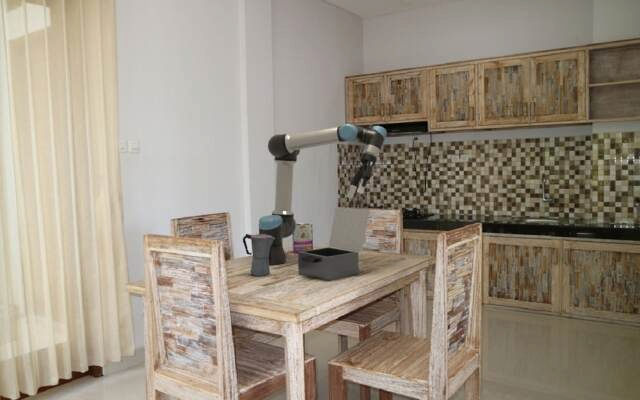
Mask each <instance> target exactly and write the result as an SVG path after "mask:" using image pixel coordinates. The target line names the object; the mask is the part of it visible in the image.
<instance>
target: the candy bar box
mask: <svg viewBox="0 0 640 400" xmlns="http://www.w3.org/2000/svg"><path fill="white" fill-rule="evenodd" d="M291 236H292V239H291V240H292V252H293V253H294V254H298V252H301V251H307V250H314V239H313V237H314V236H313V223H312V222H299V223H298V222H296V229H295V231H294V233H293V234H292V235H291Z"/></svg>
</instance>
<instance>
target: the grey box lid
mask: <svg viewBox="0 0 640 400" xmlns="http://www.w3.org/2000/svg"><path fill="white" fill-rule="evenodd" d="M369 213H370V209H367V208H366V209H365V208H355V207H353V208H352V207H340V206H339V207H337V206H336V207H335V210H334V215H333V222H332V227H331V233H330V238H329V243H328V247H330V248H336V249H342V250H348V251H354V252H358V253H362V252H363V247H364V242H365V237H366V229H367V224H368V220H369Z"/></svg>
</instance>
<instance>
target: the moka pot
mask: <svg viewBox="0 0 640 400" xmlns="http://www.w3.org/2000/svg"><path fill="white" fill-rule="evenodd" d="M262 233H263V231H262V230H260V234H259V233H258V234H249V233H246V234H245V235H244V236H243V238H242V242H243V246H244V249H245V253H246V255H249V256H252V262H251V267H250V275H252V276H255V277H266V276H269V275H270V274H271V271H270V265H269V259H268V257H269V251H270V246H271V244H272V242H273V240H274V239H275V238H274V237H272V236H270V235H265V234H262ZM246 239H248V240H251V249H252V250H251V251H252V252H250V251H249V249H248V248H249V247H248V245H247V241H246Z"/></svg>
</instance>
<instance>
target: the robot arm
mask: <svg viewBox="0 0 640 400" xmlns="http://www.w3.org/2000/svg"><path fill="white" fill-rule="evenodd" d="M386 137H387V129H386V128H384V127H383V126H381V125H380V126H379V125H374V126H373V127H372V128H371V129H369V128H365V127H363V126H357V125H355V124H351V123H345V124H344V125H341V126H334V127H329V128H324V129H319V130H313V131H308V132H300V133H296V134H290V133H283V134H274V135H273V136H271V137H270V139H269V140H268V143H267V150H268V152H269V153H270V155H271V156H273V157H274V162H275V163H276V181H275V182H276V183H275V198H274V199H275V202H274V203H275V204H274V205H275V206H274V210H273V211H272V212H271V215H264V216H261V217H260V218H259V220H258V234H260V230H262V231H263V233H262V234H265V235H270V236H272V237H274V238H275V239H274V240H273V242H272V244H271V246H270V251H269V257H268V259H269V266H277V265H282V264H285V263H287V256H286V252H285V250H284V247H283V239H286V238H289V237H291V236H292V234H293V233H294V231H295V229H296V223H297V222H296V219H295V217H294V212H293V210H292V203H293V201H292V200H293V199H292V198H293V184H294V183H293V181H294V165H295V164H296V163H297V161H298V160H297V159H298V156H299V155H300V153H301V150H302V149H303V150H304V149H310V148H315V147H320V146H322V147H323V146H327V145H332V144H339V143H346V142H355V143H360V144H362V145H365V146H364V149H363V151H362V154H361V156H360V160H359V161H360V162H359V163H361V164H362V165H360V166H359V167H358V169H357V171H356V172H355V175H354V176H353V178H352V181H351V182H350V187H349V190H348V193H347V195H346V197H347V198H348V199H351V200H353V197H354V195H355V193H358V194H360V195H363V194H364V192H365V189H366V187H367V183H368V181H369V180H370V179H371V178H372V173H373V169H374V168H373V167H375V166H376V163H377V161H378V158H379V156H380V155H381V154H380V153H381V150H382V147H383V145H384V142H385V140H386ZM359 183H360V184H359ZM358 184H359V185H358ZM357 188H358V189H357ZM356 190H357V192H356Z"/></svg>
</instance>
